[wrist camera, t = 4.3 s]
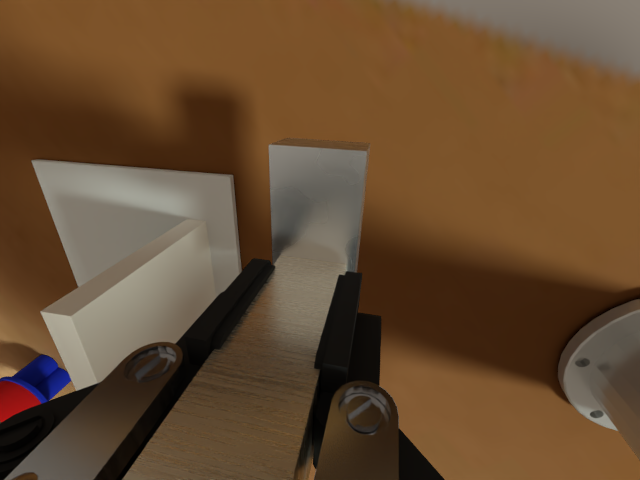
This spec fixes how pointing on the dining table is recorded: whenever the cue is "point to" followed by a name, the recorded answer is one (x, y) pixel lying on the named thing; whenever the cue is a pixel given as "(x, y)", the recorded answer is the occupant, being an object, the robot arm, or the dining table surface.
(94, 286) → the tile
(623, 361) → the robot arm
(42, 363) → the toy
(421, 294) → the dining table surface
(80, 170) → the mat
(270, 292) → the white inverted t block
